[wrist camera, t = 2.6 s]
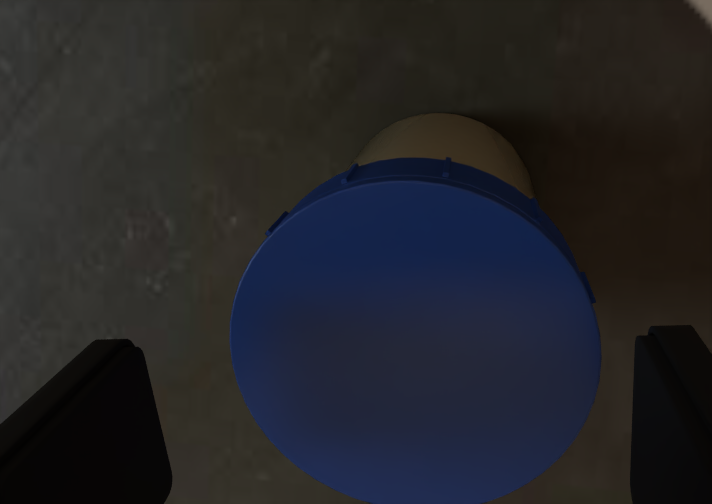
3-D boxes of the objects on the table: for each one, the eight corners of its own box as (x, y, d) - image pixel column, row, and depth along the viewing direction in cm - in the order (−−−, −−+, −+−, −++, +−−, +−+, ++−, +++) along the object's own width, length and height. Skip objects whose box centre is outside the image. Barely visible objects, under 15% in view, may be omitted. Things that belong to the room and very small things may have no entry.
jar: (532, 104, 20) (576, 183, 11) (536, 292, 22) (575, 484, 13) (333, 120, 21) (231, 204, 13) (354, 298, 23) (279, 477, 15)
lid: (587, 144, 12) (605, 166, 11) (584, 456, 15) (599, 518, 13) (234, 168, 14) (198, 193, 12) (281, 451, 16) (258, 506, 14)
